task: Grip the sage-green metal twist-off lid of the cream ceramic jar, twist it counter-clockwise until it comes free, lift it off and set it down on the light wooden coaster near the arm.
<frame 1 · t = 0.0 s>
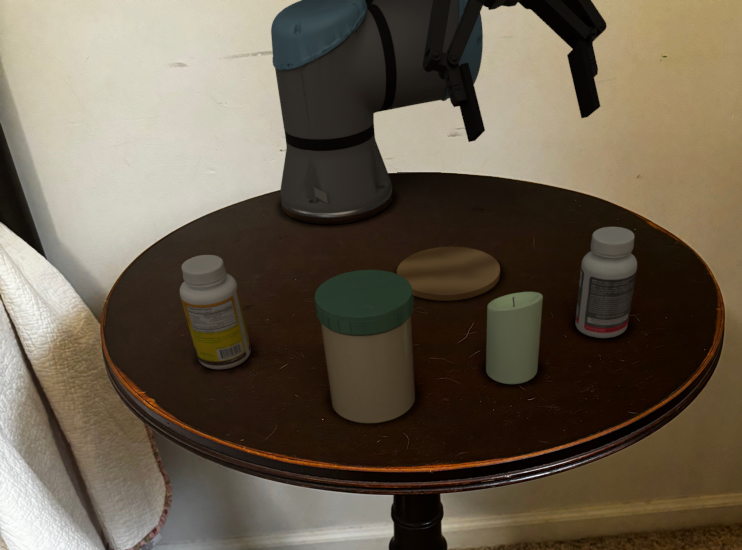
hand: (535, 124, 83), 15 cm above the table, tool tilted 35°, fingers open, 13 cm apart
lid: (363, 296, 69), point 10 cm above the table, screwed on, not yet turned
candle: (511, 372, 78), on the table
supplement bottle: (225, 359, 83), on the table
pill bottle: (600, 328, 83), on the table
coaster: (448, 275, 93), on the table
jar: (373, 398, 76), on the table
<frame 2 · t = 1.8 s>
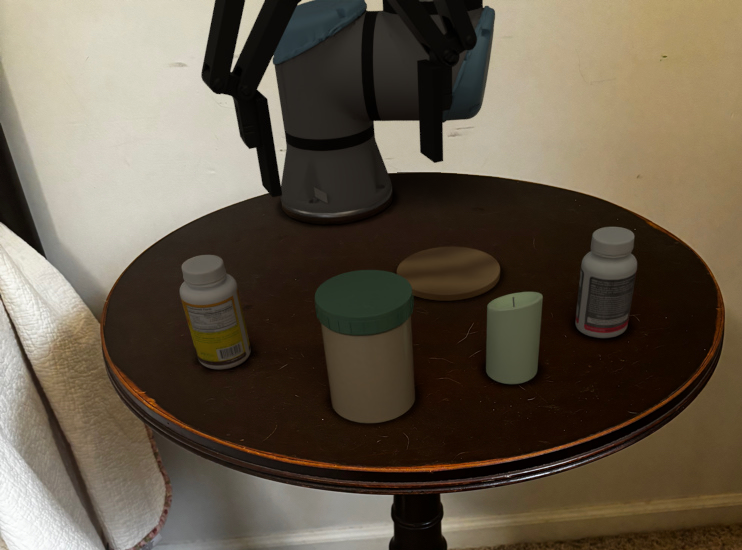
hand: (354, 173, 62), 21 cm above the table, tool pointing down, fingers open, 12 cm apart
nothing on the table moved.
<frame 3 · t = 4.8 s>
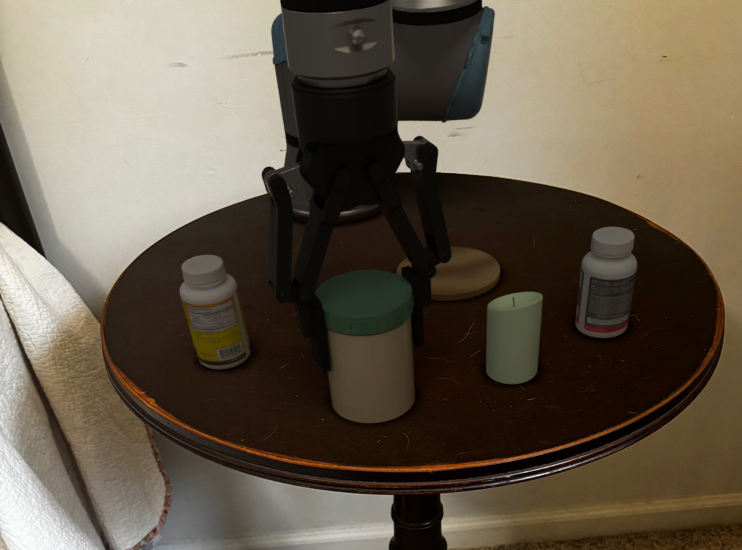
hand: (369, 351, 72), 5 cm above the table, tool pointing down, fingers closed on lid, 8 cm apart
lid: (363, 296, 69), point 10 cm above the table, screwed on, not yet turned, touching gripper
everything else where it was.
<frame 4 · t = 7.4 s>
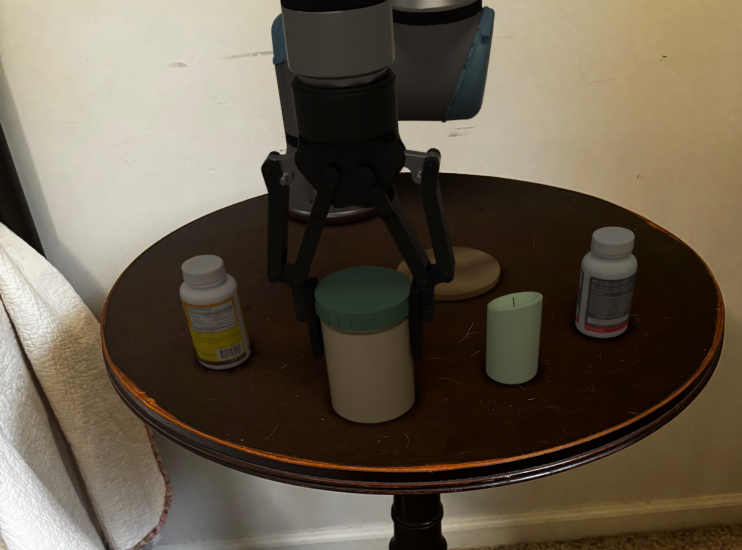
hand: (368, 351, 72), 5 cm above the table, tool pointing down, fingers closed on lid, 8 cm apart
lid: (363, 292, 68), point 11 cm above the table, off its thread, touching gripper
everything else where it was.
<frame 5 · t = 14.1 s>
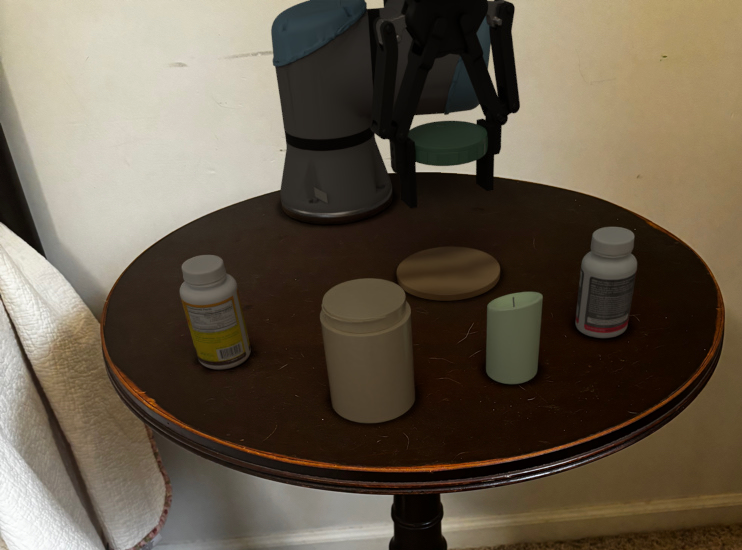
hand: (447, 194, 86), 9 cm above the table, tool pointing down, fingers closed on lid, 8 cm apart
lid: (446, 138, 82), point 15 cm above the table, off its thread, touching gripper
everything else where it was.
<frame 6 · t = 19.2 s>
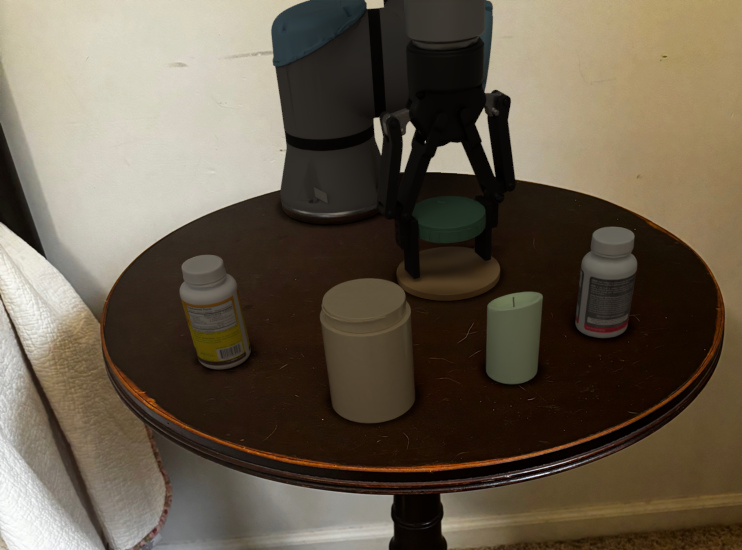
hand: (448, 264, 92), 1 cm above the table, tool pointing down, fingers closed on lid, 8 cm apart
lid: (447, 215, 88), point 7 cm above the table, off its thread, touching gripper
everything else where it was.
when the fingers open (2 cm above the table, at t = 23.2 s): lid drops 5 cm, resting on coaster.
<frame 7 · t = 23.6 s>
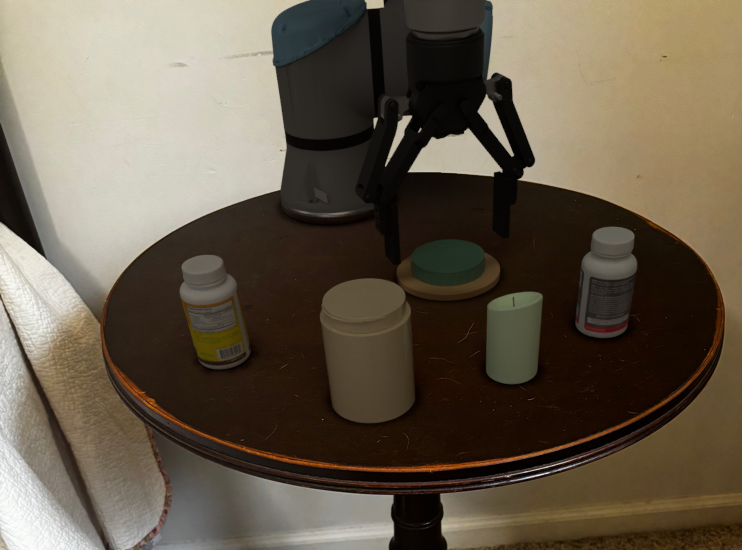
hand: (447, 247, 91), 3 cm above the table, tool pointing down, fingers open, 13 cm apart
lid: (448, 258, 91), point 2 cm above the table, off its thread, touching coaster
everything else where it was.
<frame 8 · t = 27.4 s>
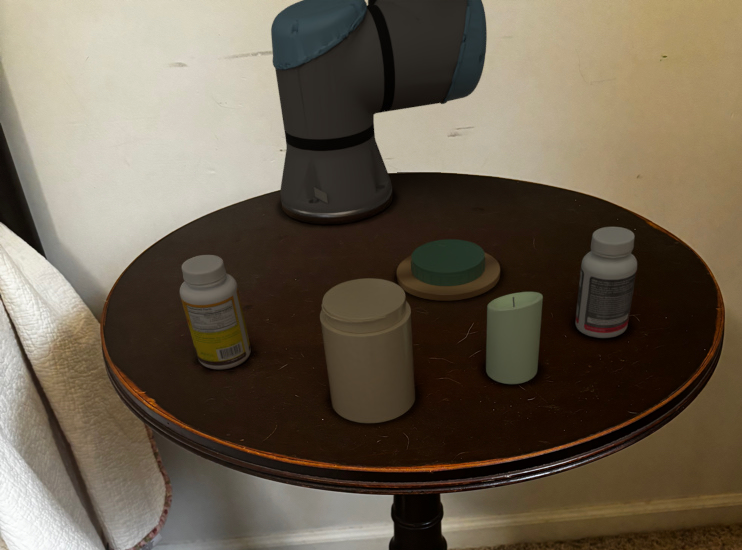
nothing on the table moved.
at the end: the gripper is holding nothing; lid inside the target area on the coaster (0.0 cm from its centre), point 2.1 cm above the coaster's base; lid point 2.1 cm above the table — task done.
